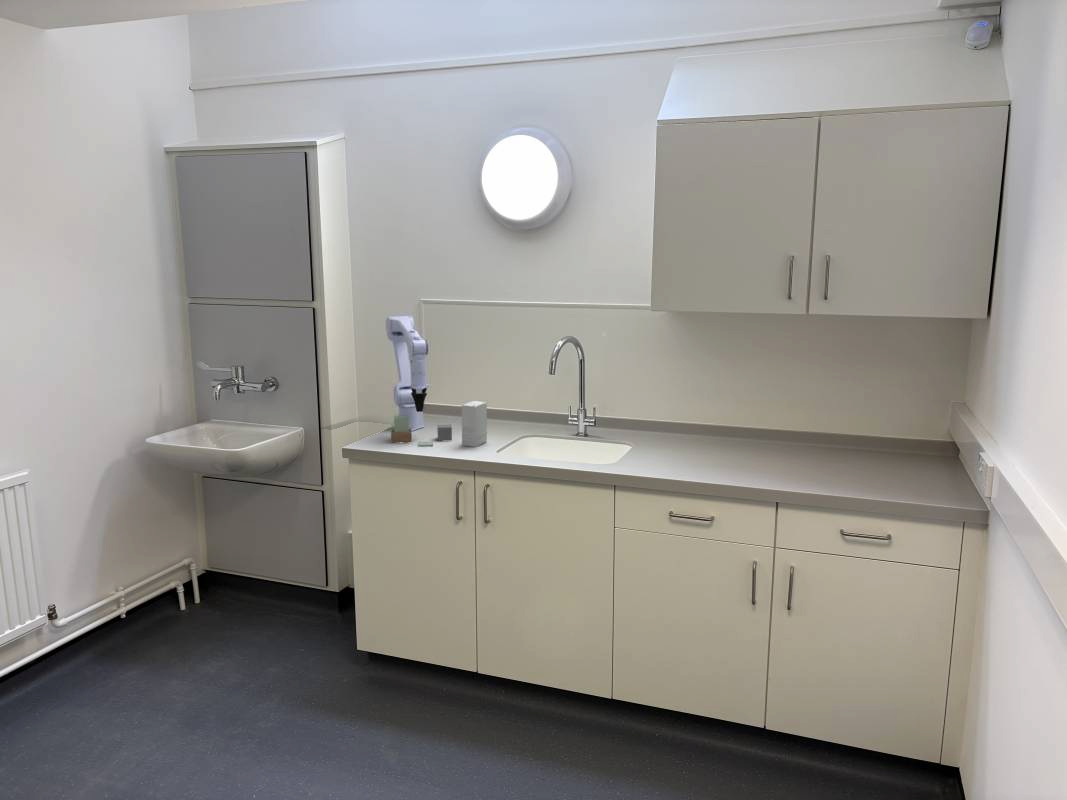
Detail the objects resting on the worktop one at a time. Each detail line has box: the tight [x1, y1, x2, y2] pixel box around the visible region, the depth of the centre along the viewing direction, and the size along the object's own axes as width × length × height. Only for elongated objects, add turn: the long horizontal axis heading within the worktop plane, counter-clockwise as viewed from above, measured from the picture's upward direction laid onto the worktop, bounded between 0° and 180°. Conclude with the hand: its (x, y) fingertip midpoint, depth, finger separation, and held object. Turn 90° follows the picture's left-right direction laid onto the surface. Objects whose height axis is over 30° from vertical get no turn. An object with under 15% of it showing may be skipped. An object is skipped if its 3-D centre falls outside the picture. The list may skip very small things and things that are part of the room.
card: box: [418, 440, 434, 447], centre depth 275 cm, size 5×5×1 cm
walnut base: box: [390, 428, 413, 444], centre depth 280 cm, size 7×7×4 cm
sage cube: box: [393, 415, 409, 432], centre depth 280 cm, size 5×5×5 cm
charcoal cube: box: [436, 424, 453, 442], centre depth 283 cm, size 5×5×5 cm
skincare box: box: [461, 400, 488, 448], centre depth 275 cm, size 8×6×15 cm
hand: (419, 409), depth 284 cm, fingers open, 7 cm apart
